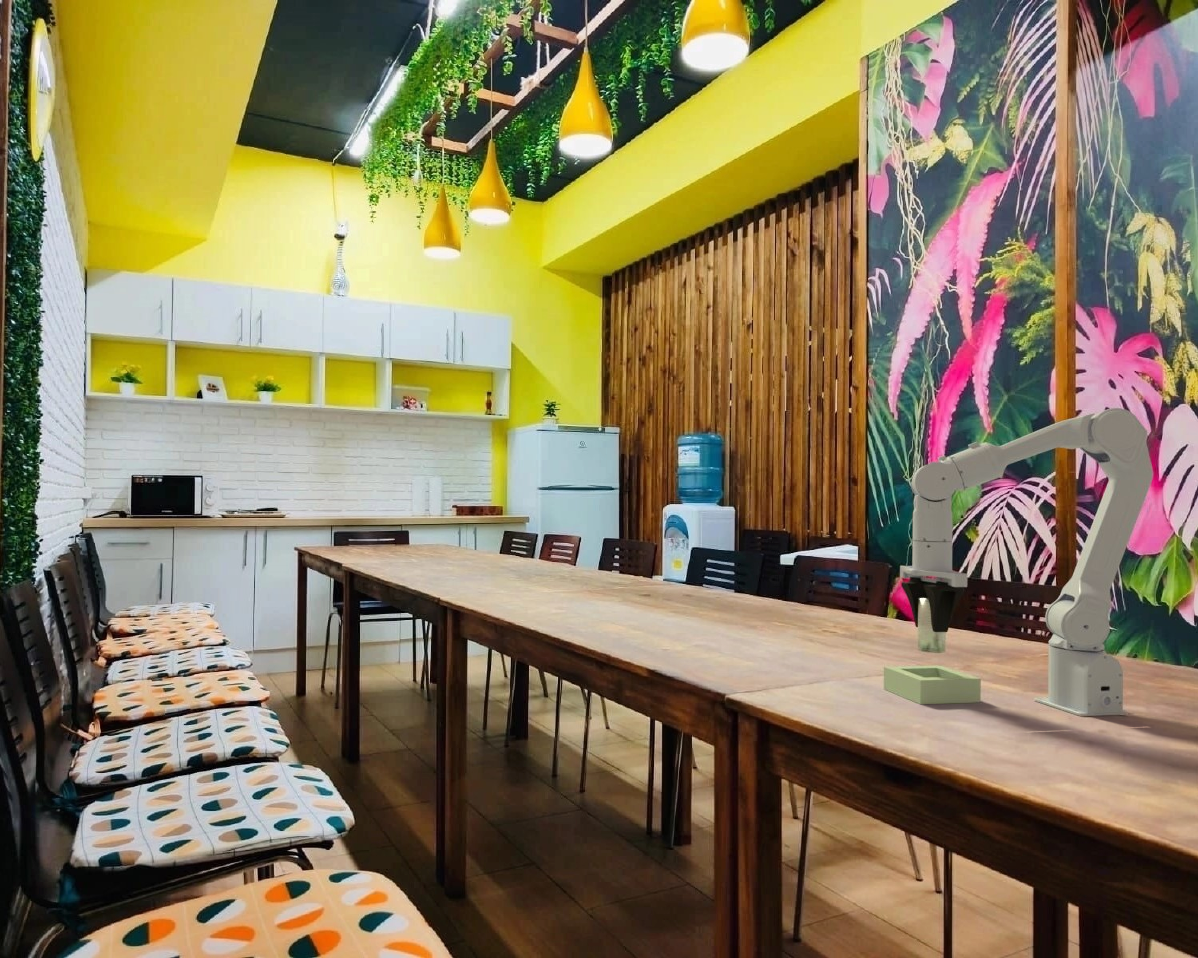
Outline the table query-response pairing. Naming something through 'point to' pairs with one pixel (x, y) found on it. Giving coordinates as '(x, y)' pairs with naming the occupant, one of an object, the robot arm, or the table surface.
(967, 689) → the green tray
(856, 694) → the table surface
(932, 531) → the robot arm
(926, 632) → the peg
